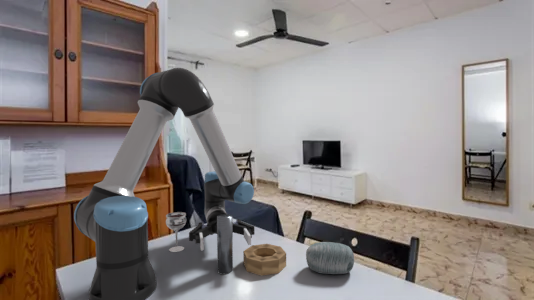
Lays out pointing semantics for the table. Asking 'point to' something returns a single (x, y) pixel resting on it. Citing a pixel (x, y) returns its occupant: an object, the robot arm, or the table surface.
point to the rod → (224, 243)
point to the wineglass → (176, 226)
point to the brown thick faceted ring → (264, 259)
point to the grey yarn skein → (330, 258)
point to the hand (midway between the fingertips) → (226, 242)
